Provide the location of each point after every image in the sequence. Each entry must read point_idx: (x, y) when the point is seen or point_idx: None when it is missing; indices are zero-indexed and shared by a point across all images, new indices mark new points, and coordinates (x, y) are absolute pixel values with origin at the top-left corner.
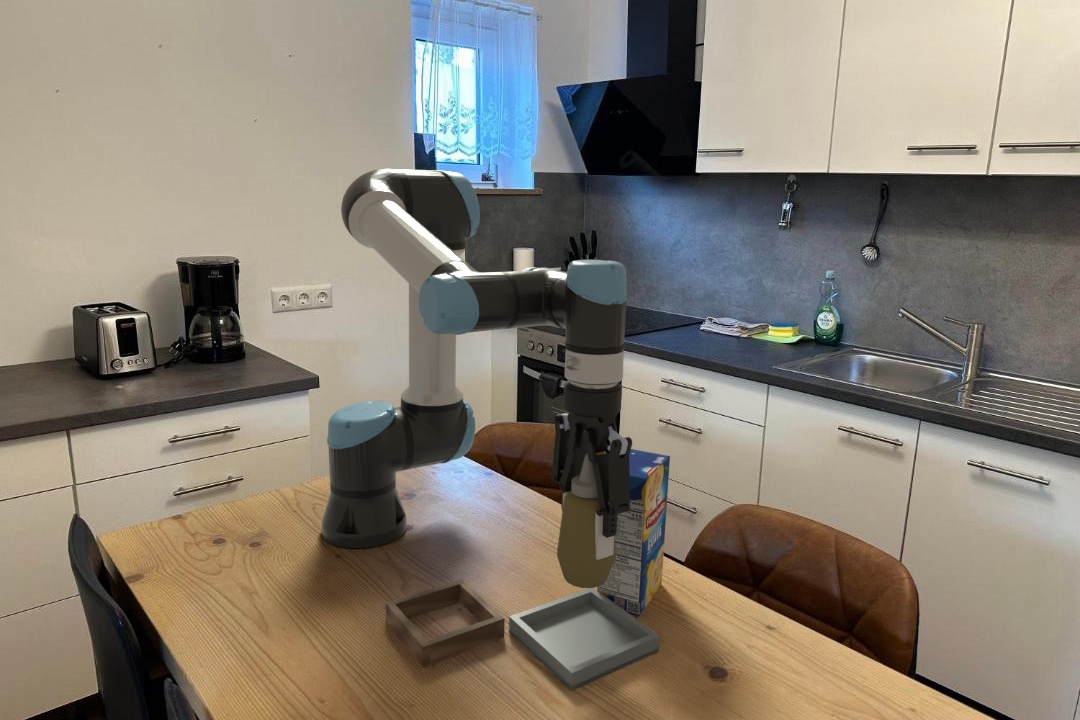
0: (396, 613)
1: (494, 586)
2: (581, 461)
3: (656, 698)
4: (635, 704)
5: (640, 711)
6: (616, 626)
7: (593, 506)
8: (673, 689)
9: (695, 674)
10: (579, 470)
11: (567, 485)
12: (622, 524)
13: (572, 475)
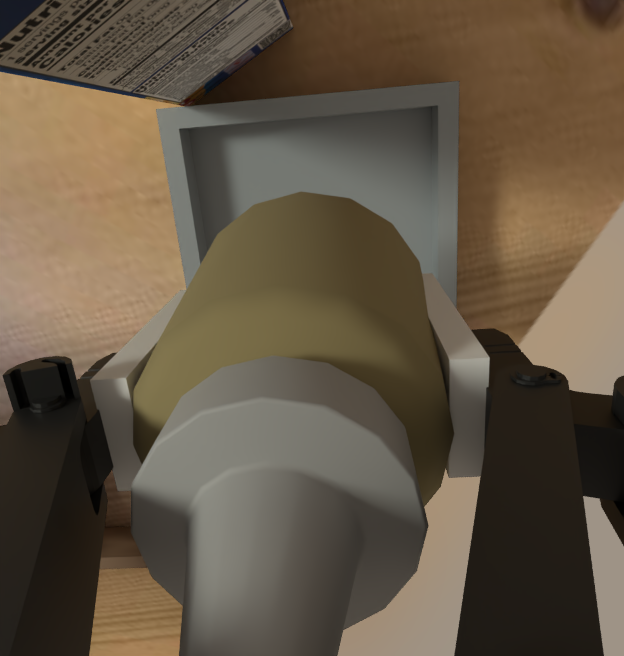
0: (111, 566)
1: (15, 305)
2: (50, 606)
3: (571, 206)
4: (556, 259)
5: (578, 262)
6: (316, 130)
7: (429, 494)
8: (574, 150)
9: (569, 57)
10: (67, 516)
11: (100, 501)
12: (156, 6)
13: (88, 544)
